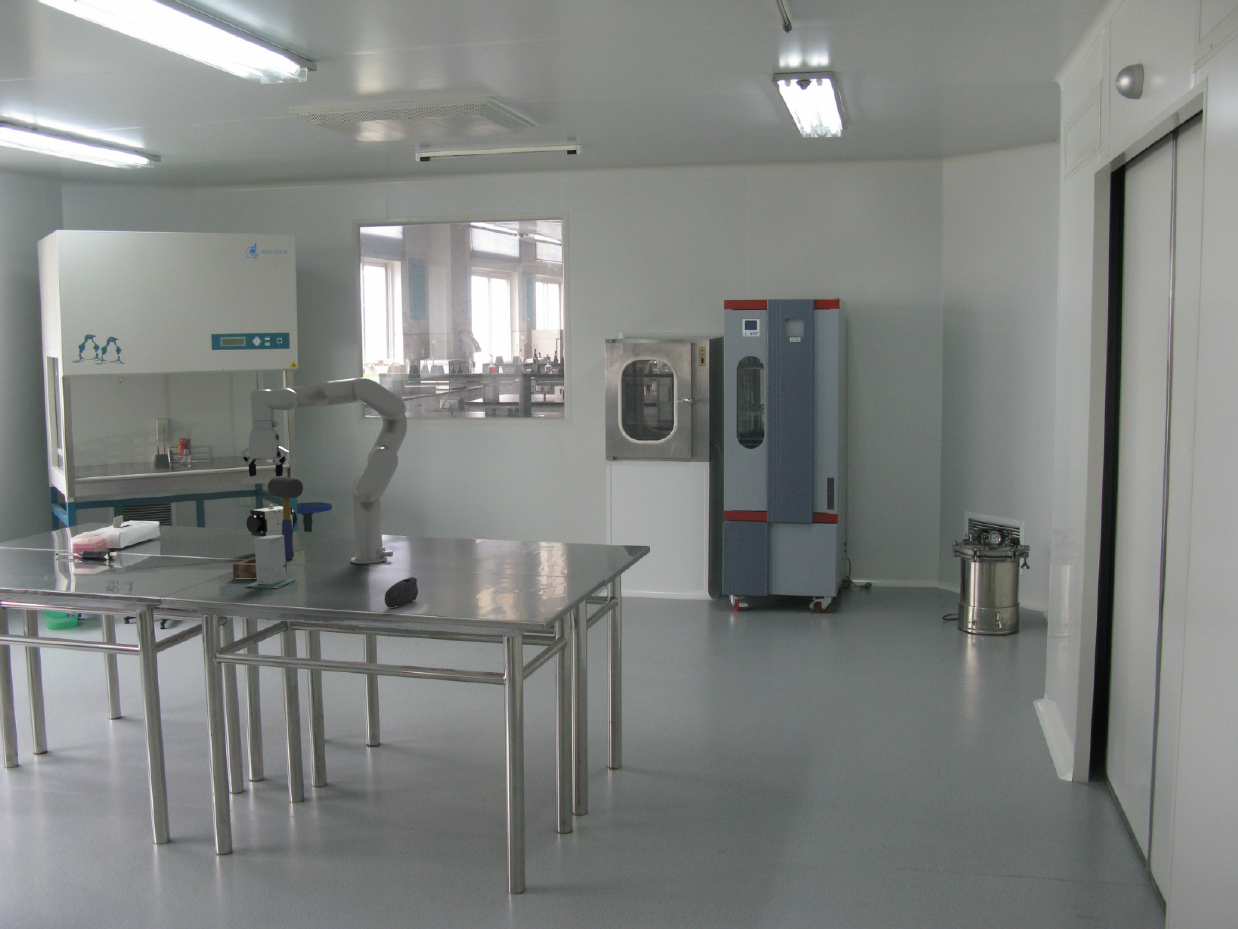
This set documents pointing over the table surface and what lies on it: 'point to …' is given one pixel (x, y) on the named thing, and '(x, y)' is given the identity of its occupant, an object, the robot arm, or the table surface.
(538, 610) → the table surface
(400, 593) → the perforated stone tool
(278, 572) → the skincare box
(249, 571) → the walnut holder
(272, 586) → the rubber mat
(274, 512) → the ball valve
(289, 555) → the rubber mallet
